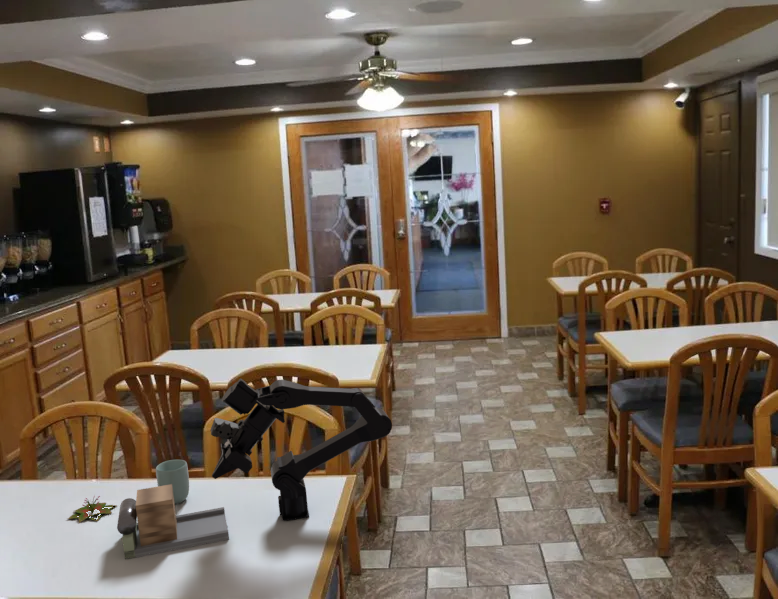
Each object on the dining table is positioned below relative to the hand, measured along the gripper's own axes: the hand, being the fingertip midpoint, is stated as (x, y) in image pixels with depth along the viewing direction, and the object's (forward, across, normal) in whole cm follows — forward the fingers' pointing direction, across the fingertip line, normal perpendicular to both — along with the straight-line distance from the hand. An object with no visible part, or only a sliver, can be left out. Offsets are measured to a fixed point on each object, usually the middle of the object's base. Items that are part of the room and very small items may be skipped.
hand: (213, 477), depth 176 cm
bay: (+16, 0, +2) cm, 16 cm away
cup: (+16, -20, +2) cm, 26 cm away
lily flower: (+31, -22, -12) cm, 40 cm away
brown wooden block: (+18, 0, -1) cm, 18 cm away
